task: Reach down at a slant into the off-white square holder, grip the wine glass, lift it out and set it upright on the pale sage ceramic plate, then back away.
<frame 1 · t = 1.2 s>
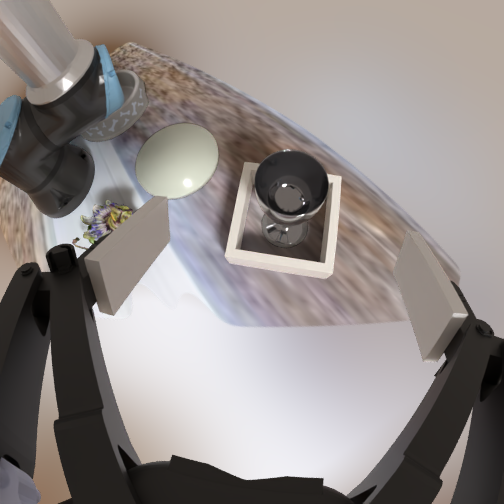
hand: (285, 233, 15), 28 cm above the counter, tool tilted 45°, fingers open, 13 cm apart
holder: (284, 225, 45), on the counter
plate: (176, 160, 48), on the counter
dog bowl: (113, 109, 54), on the counter
passion flower: (121, 243, 46), on the counter
wine glass: (284, 225, 45), resting in holder
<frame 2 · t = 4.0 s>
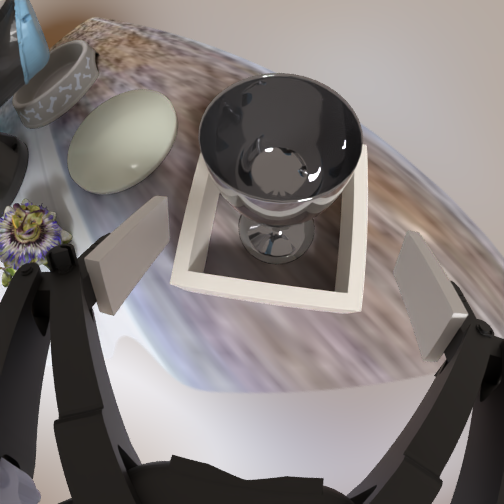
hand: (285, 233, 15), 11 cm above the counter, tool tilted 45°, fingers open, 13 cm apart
holder: (276, 226, 27), on the counter
plate: (120, 139, 31), on the counter
dog bowl: (61, 88, 37), on the counter
passion flower: (47, 259, 29), on the counter
wine glass: (276, 227, 28), resting in holder
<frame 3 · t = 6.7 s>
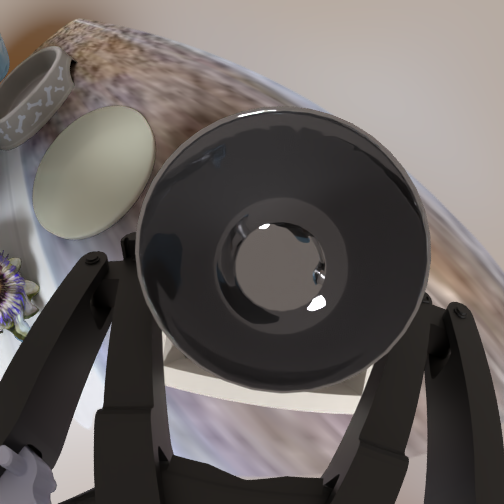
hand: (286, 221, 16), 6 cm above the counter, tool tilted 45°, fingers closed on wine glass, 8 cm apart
holder: (276, 293, 22), on the counter
plate: (90, 169, 26), on the counter
dog bowl: (35, 102, 31), on the counter
passion flower: (16, 309, 23), on the counter
wine glass: (276, 293, 22), resting in holder, touching gripper
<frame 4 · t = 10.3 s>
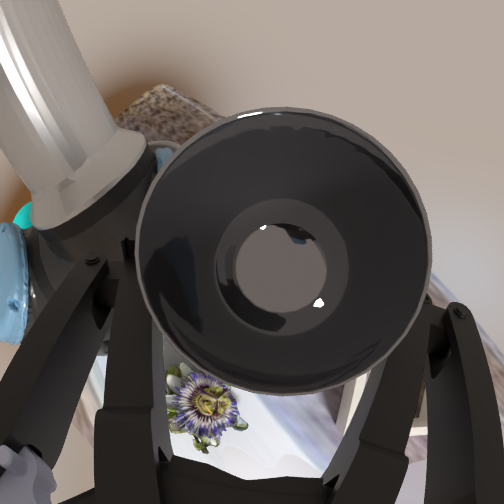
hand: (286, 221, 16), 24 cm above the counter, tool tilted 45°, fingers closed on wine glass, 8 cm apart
holder: (392, 379, 35), on the counter
passion flower: (201, 401, 36), on the counter
wine glass: (276, 294, 22), point 18 cm above the counter, touching gripper
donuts: (60, 245, 44), on the counter
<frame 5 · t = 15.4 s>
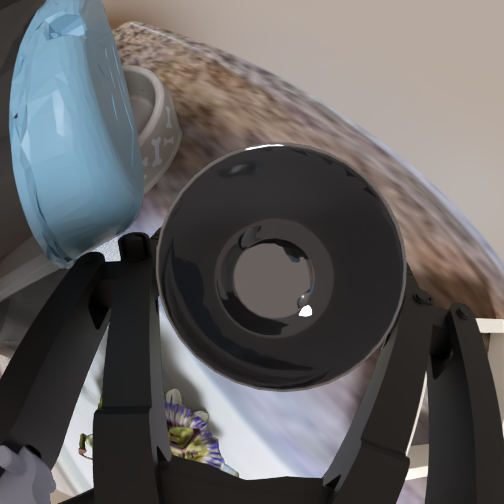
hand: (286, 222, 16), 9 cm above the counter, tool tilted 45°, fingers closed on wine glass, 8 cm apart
holder: (444, 390, 22), on the counter
dog bowl: (111, 143, 29), on the counter
passion flower: (166, 433, 22), on the counter
wine glass: (263, 294, 23), point 1 cm above the counter, touching gripper
when the fingers open (9 cm above the counter, at t = 15.5 s): wine glass stays where it is, resting on plate.
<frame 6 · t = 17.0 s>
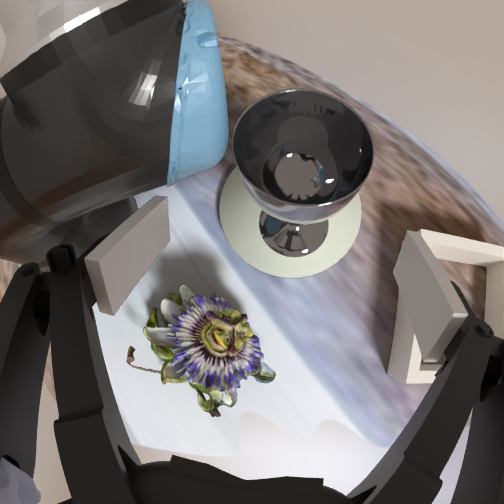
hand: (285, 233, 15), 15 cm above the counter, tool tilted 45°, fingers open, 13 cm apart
holder: (449, 312, 27), on the counter
plate: (290, 208, 31), on the counter
passion flower: (208, 347, 29), on the counter
wine glass: (294, 223, 30), point 1 cm above the counter, touching plate
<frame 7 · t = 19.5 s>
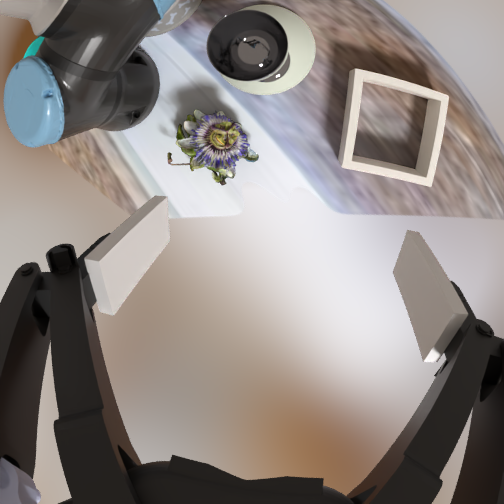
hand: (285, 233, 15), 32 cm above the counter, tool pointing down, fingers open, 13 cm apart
holder: (388, 125, 38), on the counter
plate: (263, 49, 35), on the counter
passion flower: (217, 142, 44), on the counter
wine glass: (265, 60, 35), point 1 cm above the counter, touching plate
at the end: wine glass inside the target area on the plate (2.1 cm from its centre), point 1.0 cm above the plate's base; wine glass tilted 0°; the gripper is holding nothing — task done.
